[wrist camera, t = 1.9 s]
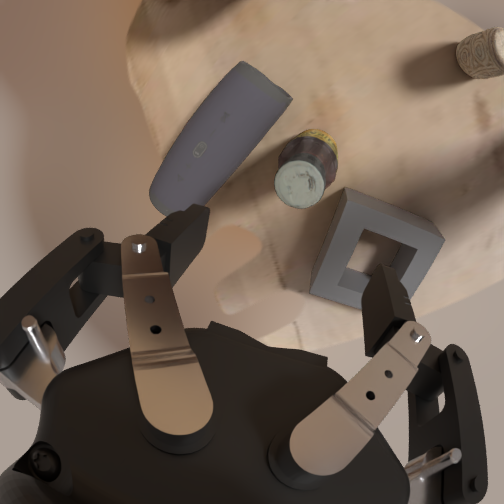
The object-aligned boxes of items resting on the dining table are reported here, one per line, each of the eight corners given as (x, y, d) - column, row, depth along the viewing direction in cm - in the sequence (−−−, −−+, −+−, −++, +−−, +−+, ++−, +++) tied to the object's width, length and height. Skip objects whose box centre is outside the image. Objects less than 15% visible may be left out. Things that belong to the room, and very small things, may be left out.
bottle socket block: (432, 222, 38) (447, 242, 32) (391, 297, 46) (396, 323, 41) (344, 186, 39) (348, 201, 34) (311, 272, 48) (308, 296, 42)
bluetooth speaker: (249, 63, 33) (227, 52, 25) (299, 102, 35) (292, 101, 26) (167, 173, 45) (133, 191, 37) (207, 207, 47) (181, 233, 38)
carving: (490, 55, 21) (532, 49, 11) (477, 88, 25) (521, 90, 15) (459, 29, 21) (497, 13, 11) (446, 62, 25) (485, 54, 15)
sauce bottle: (343, 138, 36) (360, 168, 19) (327, 176, 39) (327, 236, 23) (299, 120, 36) (278, 134, 20) (285, 159, 40) (253, 205, 23)
